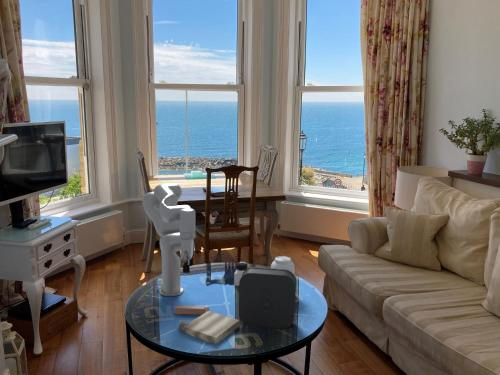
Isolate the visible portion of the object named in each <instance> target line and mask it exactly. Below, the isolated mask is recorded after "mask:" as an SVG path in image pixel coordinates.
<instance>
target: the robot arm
mask: <svg viewBox="0 0 500 375" xmlns="http://www.w3.org/2000/svg"><path fill="white" fill-rule="evenodd" d="M181 196H182V187H181V186H180V185H179V184H178V183H175V182H174V183H162V184H158V185H156V186H155V187H154V189H153V191H150V192H145V193H144V195H143V196H142V198H141V201H142V206H143V209H144V211H145V213H146V215H147V216H148V217H149V219H151V222H152V224H153V225H154V228H155V231H156V233H157V234H158V235H159V237H160V239H159V248H160V251H161V252H160V253H161V280H160V279H159V281H158V283H157V284H156V285H157V286H160V288H159V290H158V291H159V294H160V295H161V296H164V297H176V296H177V297H178V296H179V295H182V294H183V293H184V288H183V287H182V286H181V283H182V282H181V260H182V273H183V274H189V273H190V270H191V267H192V266H193V261H194V259H193V258H194V257H193V255H194V244H195V241H194V239H196V210H195V209H194V208H192V207H191V206H190V205H188V204H181V205H178V202H179V199H180V198H181ZM179 251H180V257H179V255H178V254H177V252H179ZM190 266H191V267H190Z"/></svg>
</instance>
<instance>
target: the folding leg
mask: <svg viewBox="0 0 500 375" xmlns="http://www.w3.org/2000/svg"><path fill="white" fill-rule="evenodd" d="M173 310H174V315H196V316H197V315H199V316H201V315H203V314H204V313H206V312H207V311H210V306H209V305H204V306H199V305H197V306H196V305H195V306H194V305H192V306H191V305H175V306H174V309H173Z"/></svg>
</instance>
